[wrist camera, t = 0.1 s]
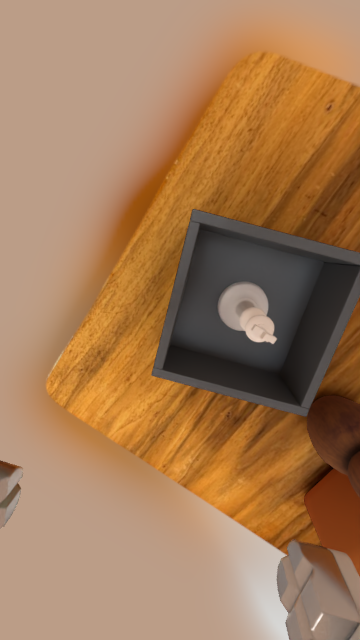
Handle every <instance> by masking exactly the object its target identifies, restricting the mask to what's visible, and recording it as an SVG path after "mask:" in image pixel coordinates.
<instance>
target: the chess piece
mask: <svg viewBox="0 0 360 640" xmlns="http://www.w3.org/2000/svg"><path fill="white" fill-rule="evenodd" d="M218 313H219V316H220V318H221V320H222V321H223V322H224V323H225V324H226V325H227V326H228V327H230V328H232V329H234V330H238V331H246V335H247V336H248V338H249V339H251V340H252V341H254V342H264V341H266V342H270V343H272V344H274V343H275V341H276V340H277V338H276V337H275V336H273V333H274V324H273V321H272V320H271V319H270V318H269V317H267V316H266V315H267V313H268V299H267V297H266V295H265V293H264V291H263V290H262V289H261V288H260V287H259V286H257V285H256V284H254V283H251V282H237V283H234V284H232V285H230V286H228V287H227V288H226V289H225V290H224V291H223V292H222V294H221V295H220V297H219V300H218Z"/></svg>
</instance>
